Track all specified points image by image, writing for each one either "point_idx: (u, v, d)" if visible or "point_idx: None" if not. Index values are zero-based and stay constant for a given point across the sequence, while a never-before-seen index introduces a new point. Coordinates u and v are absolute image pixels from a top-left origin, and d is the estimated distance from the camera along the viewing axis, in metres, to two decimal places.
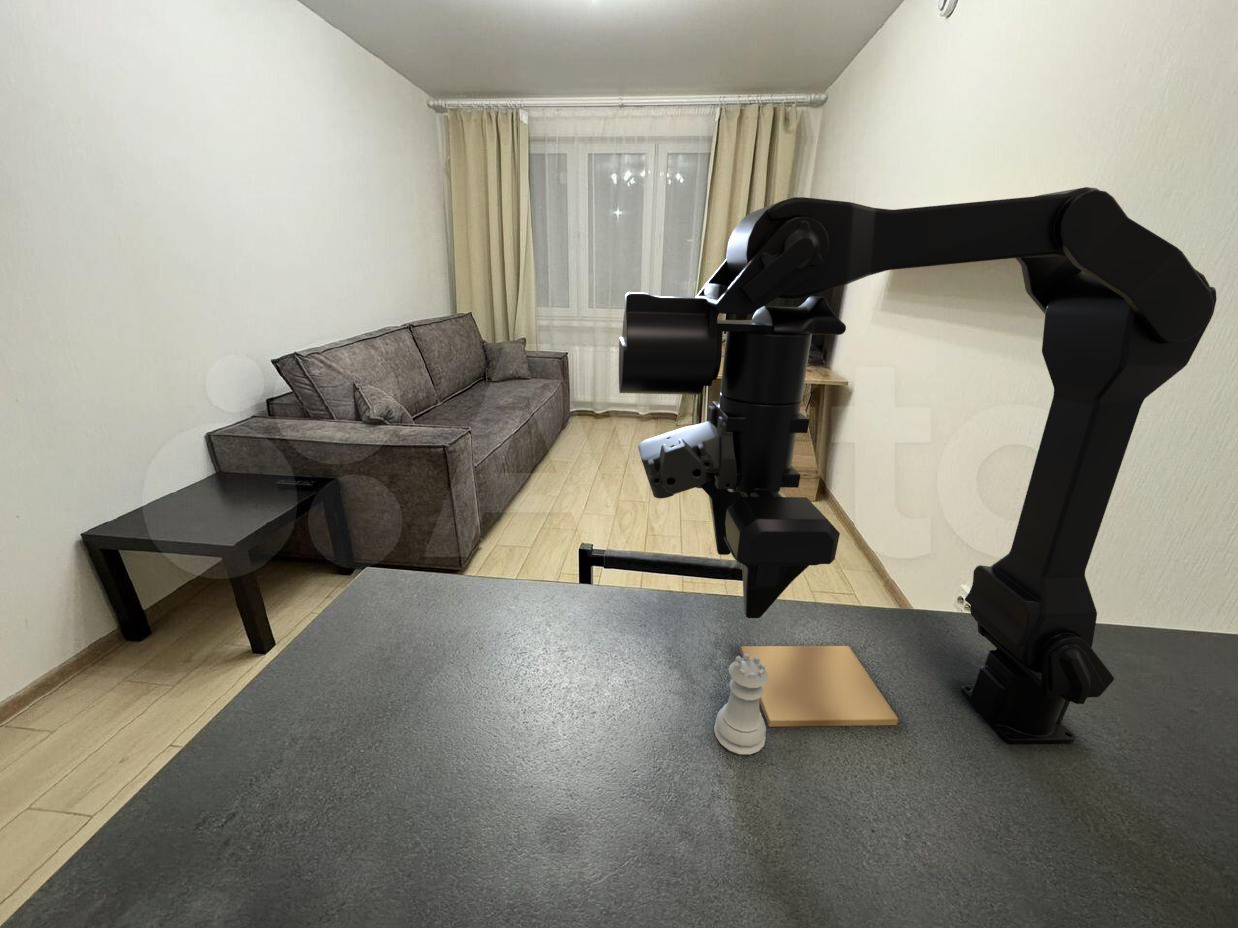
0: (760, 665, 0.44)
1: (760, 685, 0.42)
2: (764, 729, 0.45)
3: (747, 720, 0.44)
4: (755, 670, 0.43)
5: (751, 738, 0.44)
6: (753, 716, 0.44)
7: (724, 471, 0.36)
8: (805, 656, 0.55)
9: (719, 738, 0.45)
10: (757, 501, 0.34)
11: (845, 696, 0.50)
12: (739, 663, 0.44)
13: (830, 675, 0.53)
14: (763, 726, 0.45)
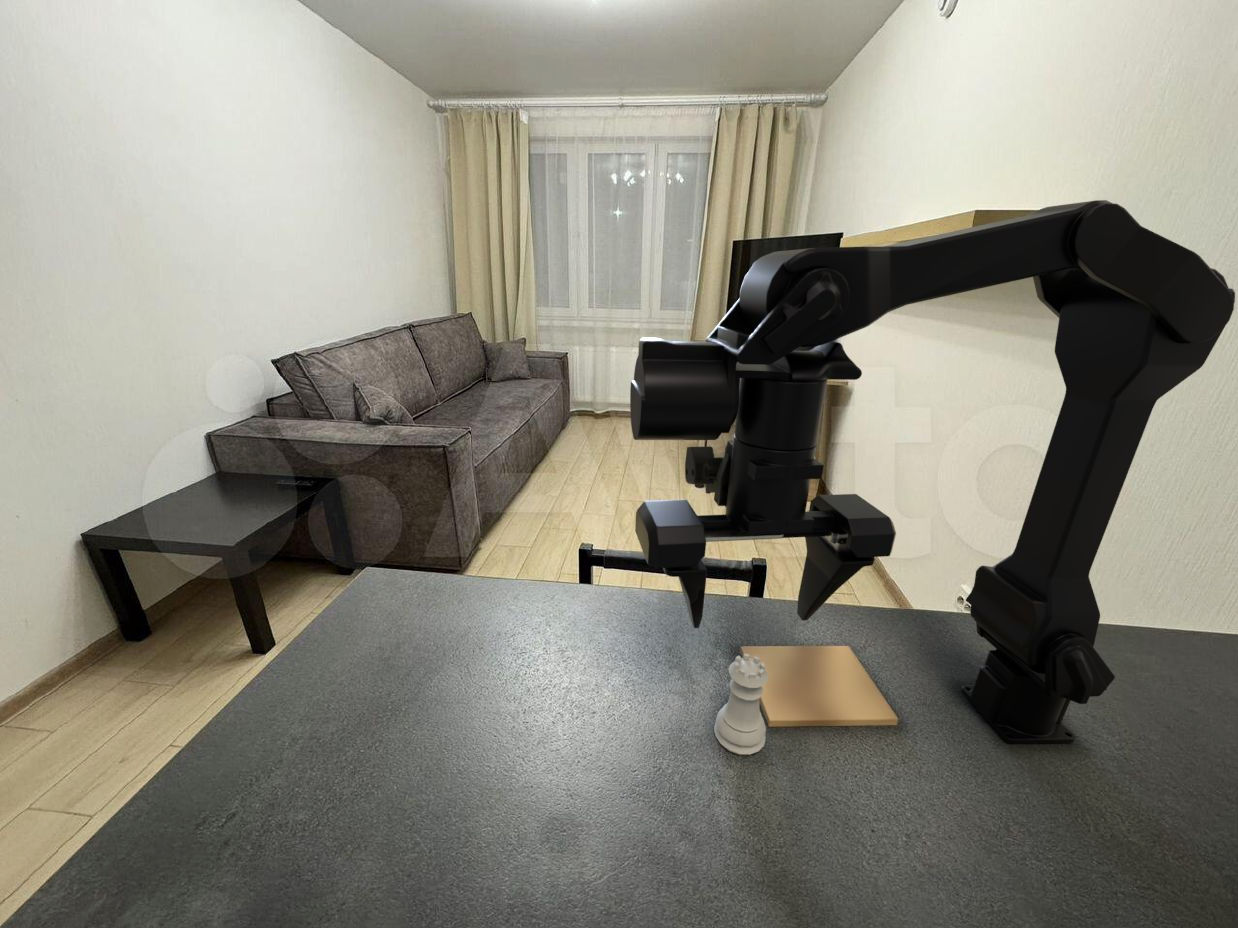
0: (760, 665, 0.44)
1: (760, 685, 0.42)
2: (764, 729, 0.45)
3: (747, 720, 0.44)
4: (755, 670, 0.43)
5: (751, 738, 0.44)
6: (753, 716, 0.44)
7: (717, 486, 0.41)
8: (805, 656, 0.55)
9: (719, 738, 0.45)
10: (679, 504, 0.40)
11: (845, 696, 0.50)
12: (739, 663, 0.44)
13: (830, 675, 0.53)
14: (763, 726, 0.45)
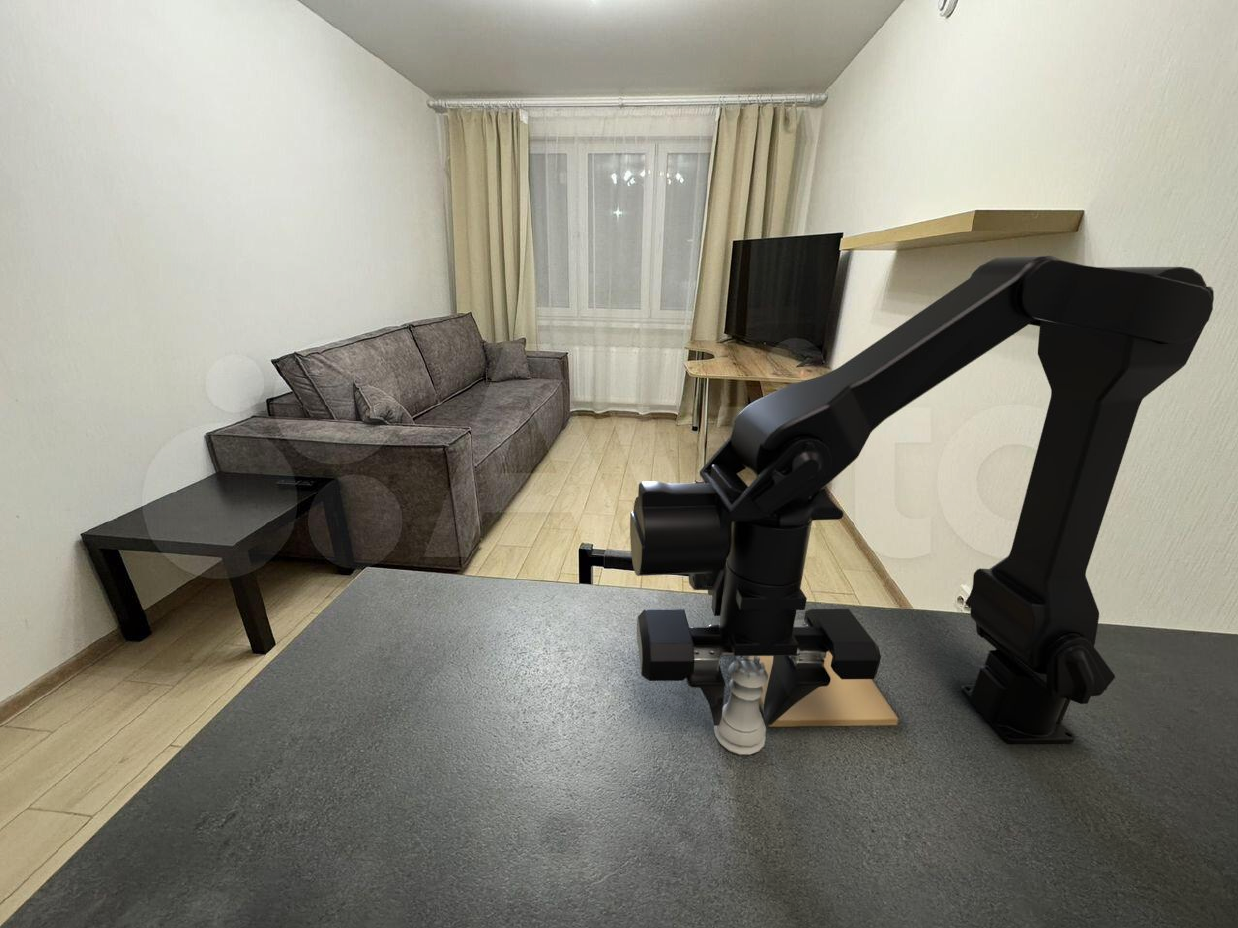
0: (760, 665, 0.44)
1: (760, 685, 0.42)
2: (764, 729, 0.45)
3: (747, 720, 0.44)
4: (755, 670, 0.43)
5: (751, 738, 0.44)
6: (753, 716, 0.44)
7: (713, 596, 0.44)
8: None
9: (719, 738, 0.45)
10: (676, 614, 0.43)
11: (845, 696, 0.50)
12: (739, 663, 0.44)
13: (830, 675, 0.53)
14: (763, 726, 0.45)
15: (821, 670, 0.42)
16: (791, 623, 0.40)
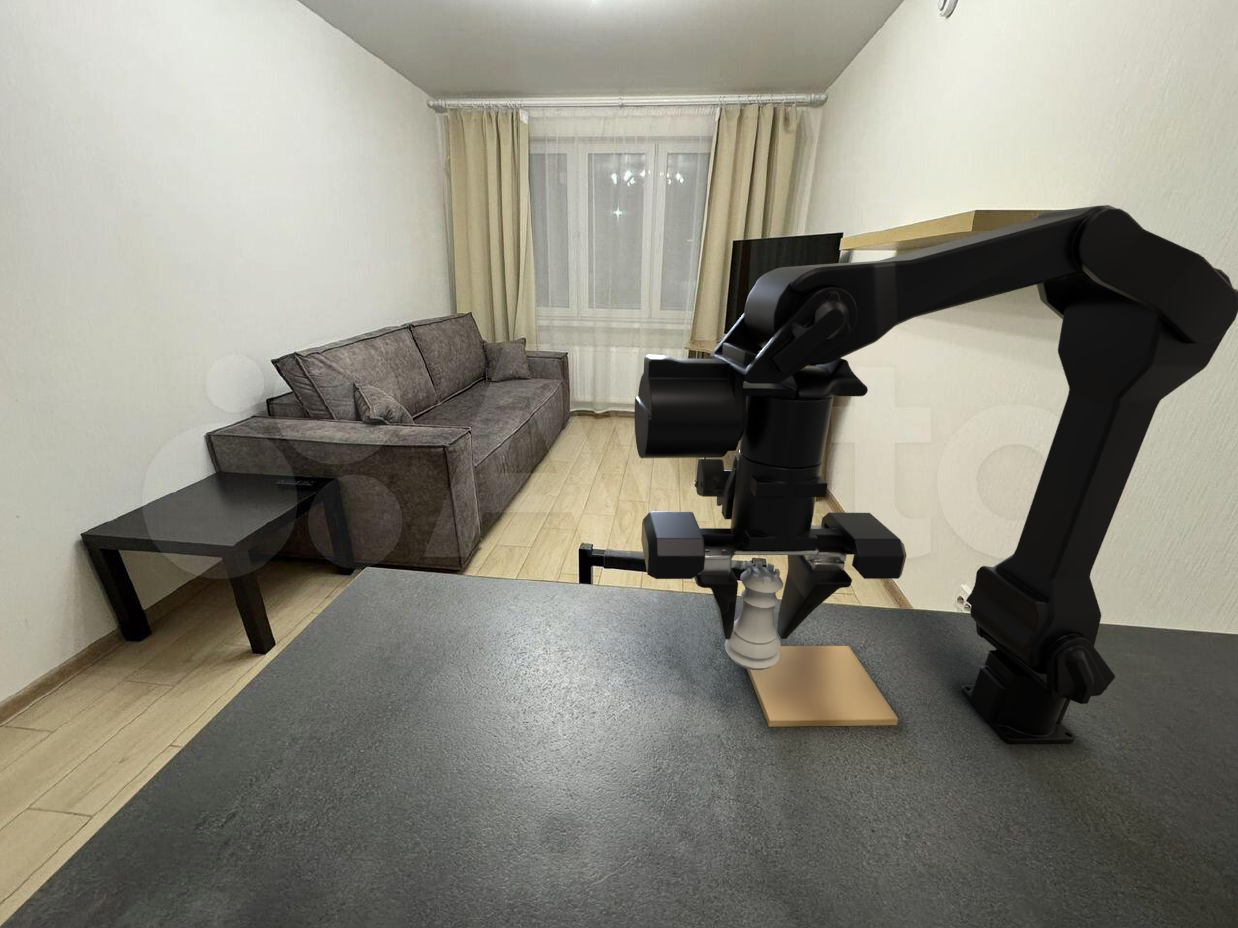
0: (774, 571, 0.41)
1: (775, 590, 0.39)
2: (779, 643, 0.42)
3: (761, 631, 0.41)
4: (769, 576, 0.40)
5: (765, 650, 0.41)
6: (767, 627, 0.41)
7: (724, 499, 0.41)
8: (805, 656, 0.55)
9: (730, 653, 0.42)
10: (684, 516, 0.40)
11: (845, 696, 0.50)
12: (752, 570, 0.41)
13: (830, 675, 0.53)
14: (778, 640, 0.42)
15: (841, 572, 0.39)
16: (810, 516, 0.37)
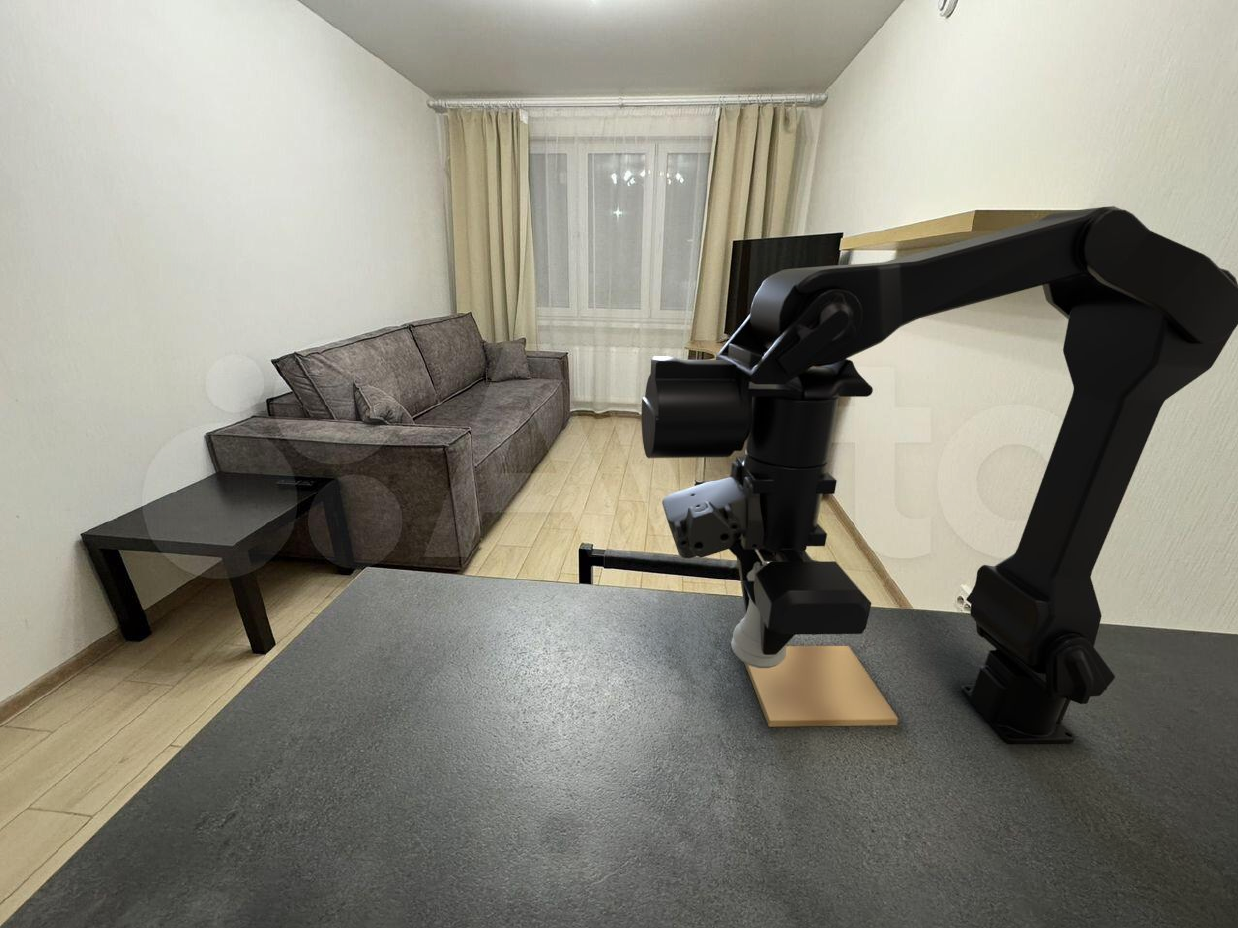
0: (763, 564, 0.42)
1: None
2: None
3: None
4: None
5: None
6: None
7: (751, 532, 0.36)
8: (805, 656, 0.55)
9: (774, 662, 0.41)
10: (786, 567, 0.33)
11: (845, 696, 0.50)
12: None
13: (830, 675, 0.53)
14: None
15: None
16: None
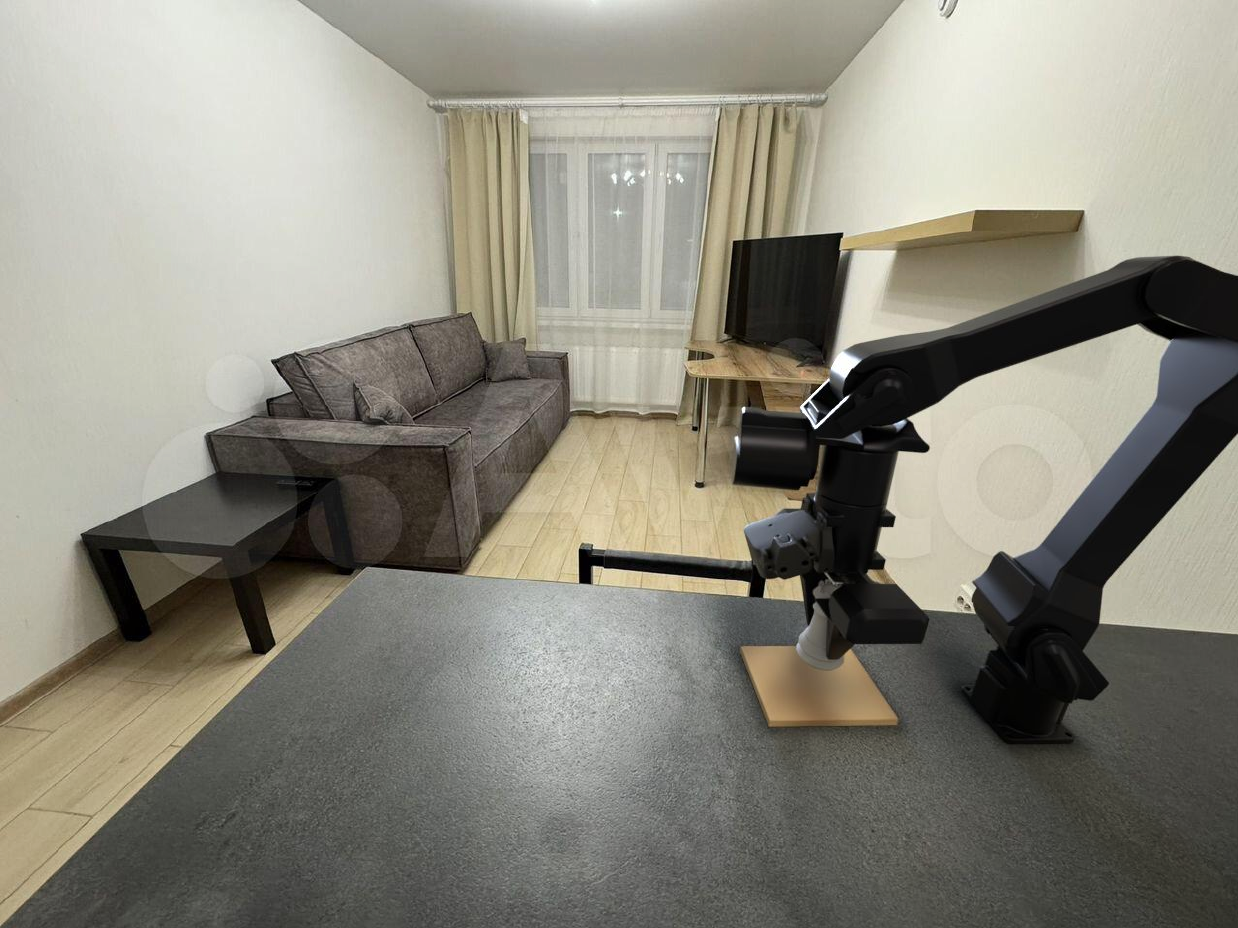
0: (826, 583, 0.49)
1: None
2: None
3: None
4: (834, 587, 0.49)
5: None
6: None
7: (824, 558, 0.44)
8: None
9: (835, 666, 0.49)
10: (858, 589, 0.41)
11: (845, 696, 0.50)
12: (830, 594, 0.48)
13: (830, 675, 0.53)
14: None
15: None
16: None
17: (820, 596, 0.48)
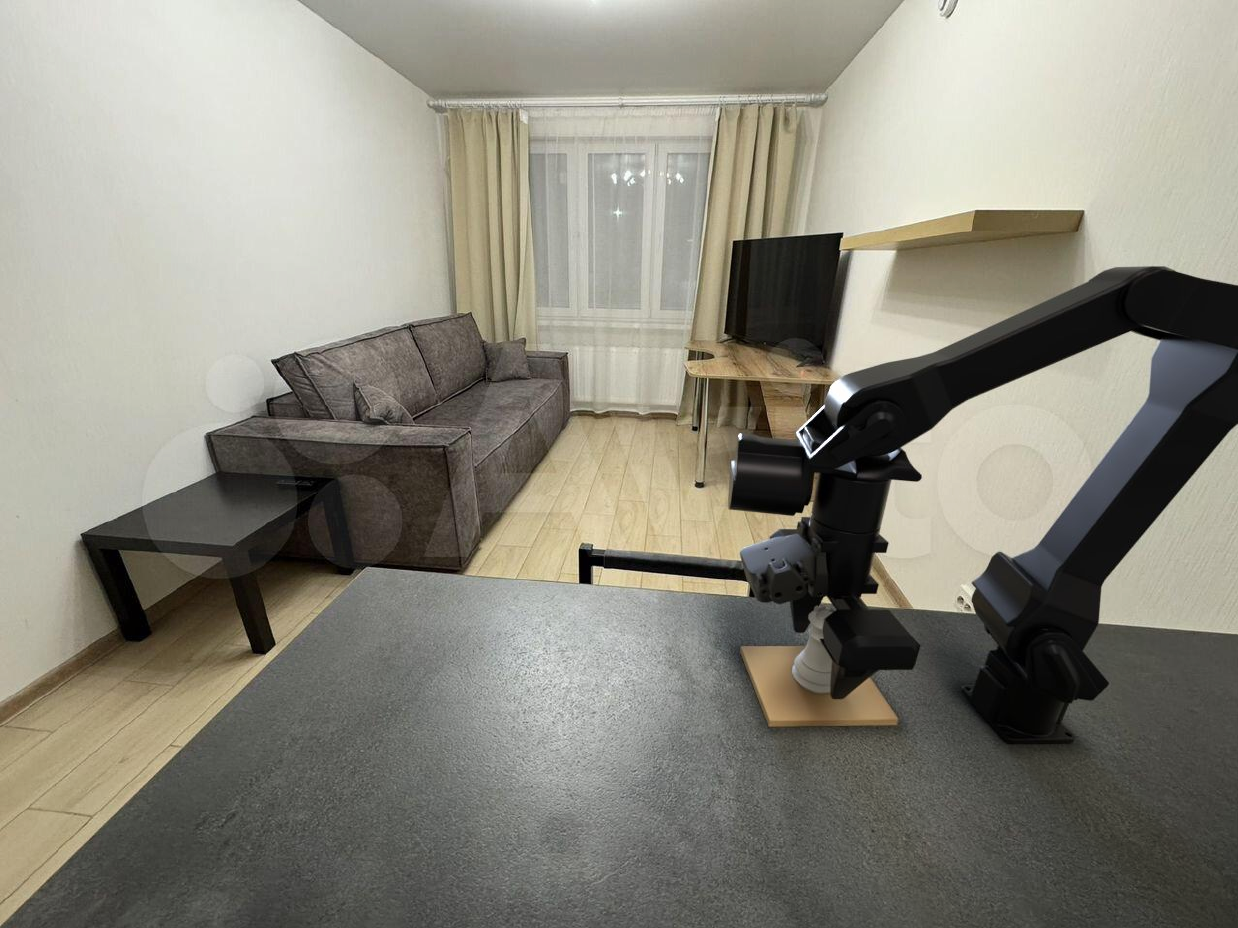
0: (821, 607, 0.50)
1: None
2: None
3: None
4: (829, 612, 0.50)
5: None
6: None
7: (818, 583, 0.45)
8: None
9: None
10: (851, 615, 0.42)
11: None
12: None
13: None
14: None
15: None
16: None
17: (815, 621, 0.49)
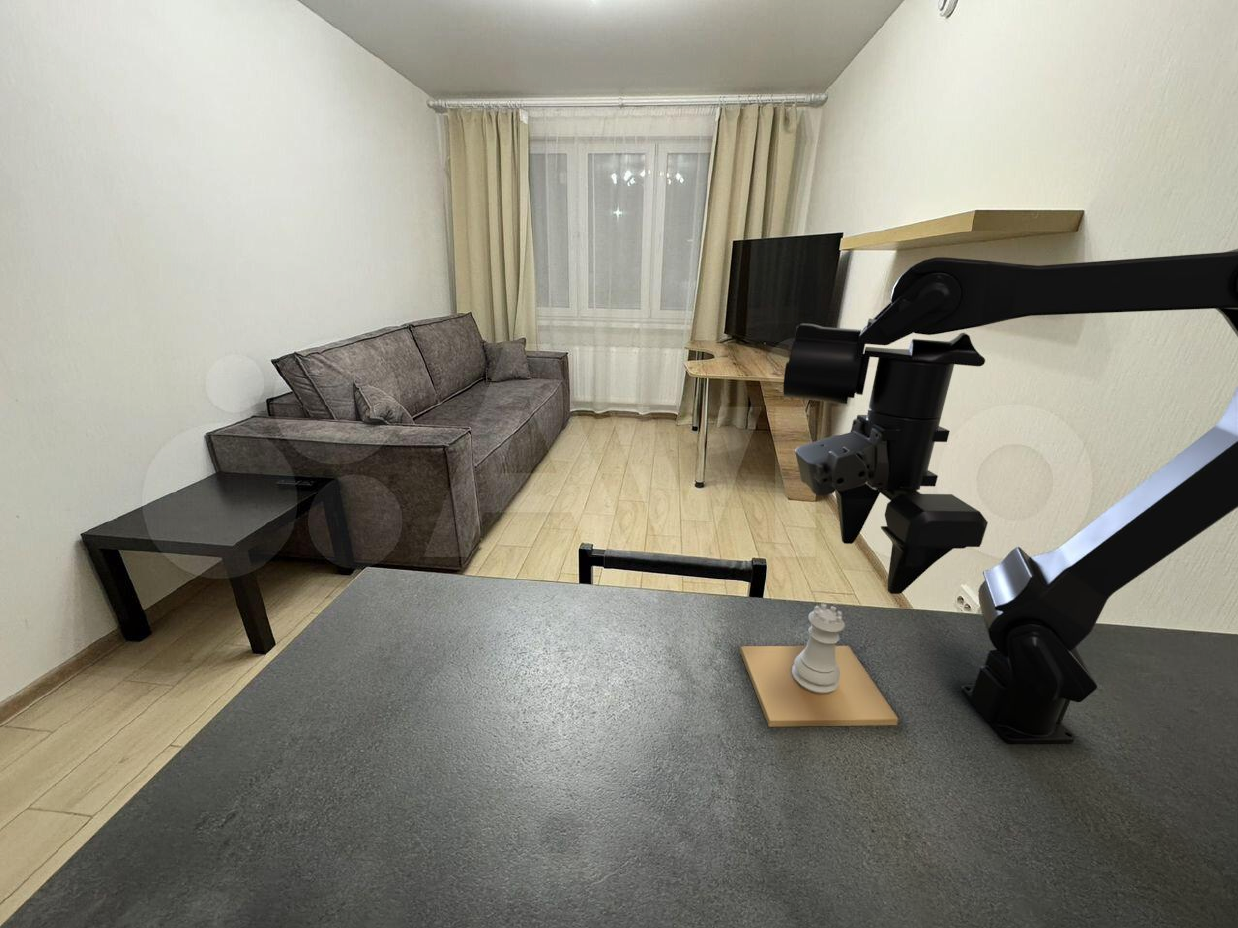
0: (821, 607, 0.50)
1: None
2: None
3: None
4: (829, 612, 0.50)
5: None
6: None
7: (878, 473, 0.45)
8: None
9: (830, 689, 0.50)
10: (915, 497, 0.42)
11: (845, 696, 0.50)
12: (825, 620, 0.49)
13: None
14: None
15: None
16: None
17: (815, 621, 0.49)
